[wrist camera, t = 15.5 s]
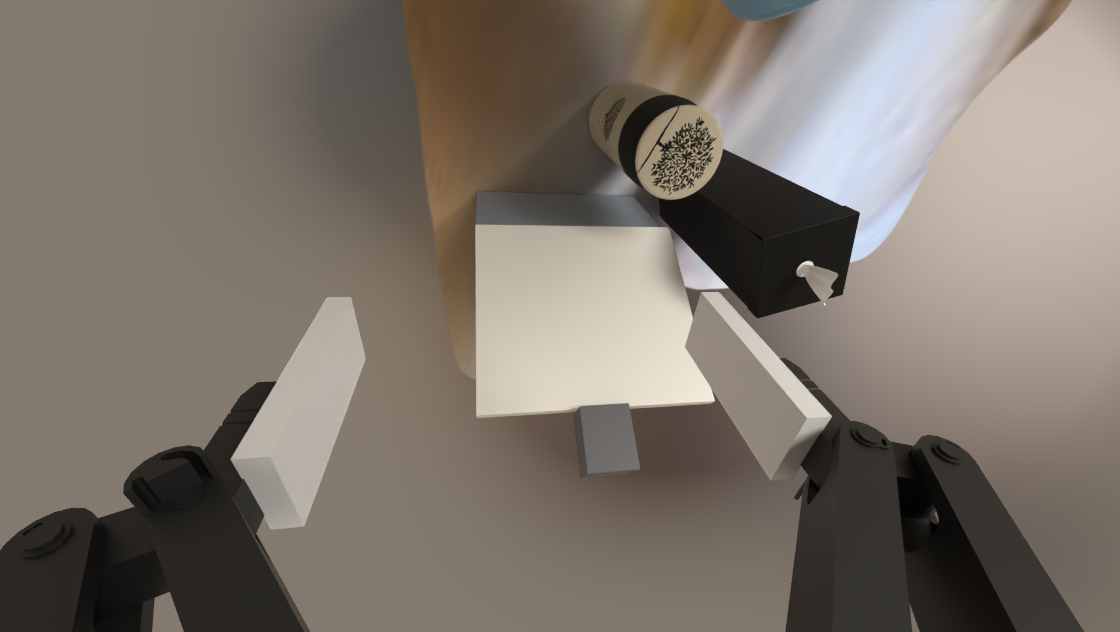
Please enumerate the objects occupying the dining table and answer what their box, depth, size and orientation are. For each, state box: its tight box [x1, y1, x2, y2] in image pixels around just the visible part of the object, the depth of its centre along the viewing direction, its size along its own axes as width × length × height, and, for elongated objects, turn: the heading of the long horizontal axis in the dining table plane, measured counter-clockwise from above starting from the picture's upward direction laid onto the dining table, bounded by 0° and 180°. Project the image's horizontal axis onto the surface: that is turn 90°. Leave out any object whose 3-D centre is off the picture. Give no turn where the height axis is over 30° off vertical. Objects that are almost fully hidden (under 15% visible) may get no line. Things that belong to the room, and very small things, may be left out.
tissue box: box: [659, 149, 860, 318], centre depth 43 cm, size 8×8×28 cm
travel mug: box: [589, 81, 723, 200], centre depth 41 cm, size 8×8×18 cm
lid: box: [475, 225, 715, 478], centre depth 37 cm, size 24×20×3 cm
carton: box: [476, 191, 661, 227], centre depth 53 cm, size 18×20×12 cm
